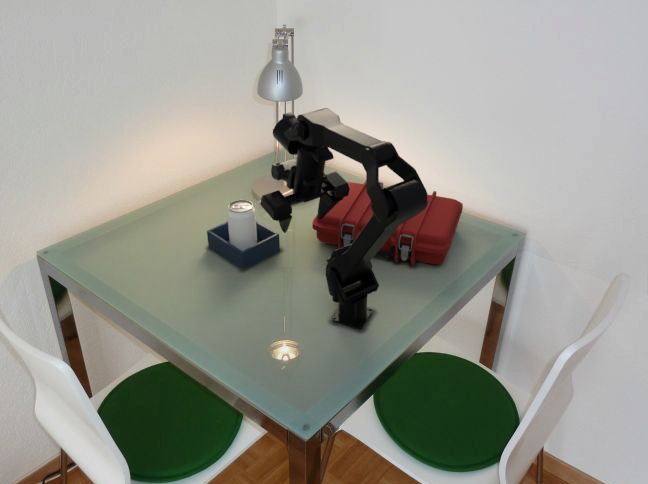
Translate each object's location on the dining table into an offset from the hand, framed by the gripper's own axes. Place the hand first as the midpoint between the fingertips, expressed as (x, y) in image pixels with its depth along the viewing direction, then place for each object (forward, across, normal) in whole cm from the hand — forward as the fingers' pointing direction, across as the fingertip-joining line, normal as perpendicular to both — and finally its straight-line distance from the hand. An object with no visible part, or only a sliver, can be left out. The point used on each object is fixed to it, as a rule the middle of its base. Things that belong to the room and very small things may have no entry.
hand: (302, 224), depth 135 cm
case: (+16, +6, -13) cm, 21 cm away
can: (+16, +6, -13) cm, 21 cm away
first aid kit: (+13, -26, +2) cm, 29 cm away
